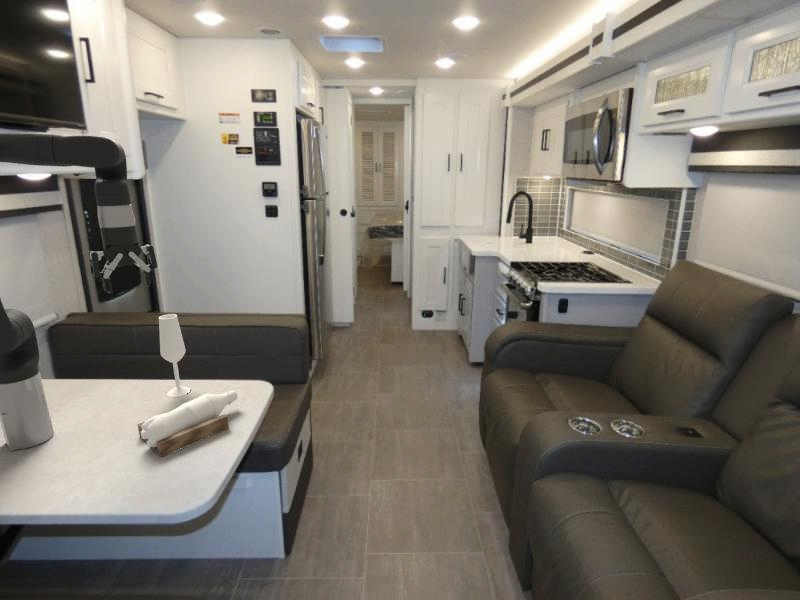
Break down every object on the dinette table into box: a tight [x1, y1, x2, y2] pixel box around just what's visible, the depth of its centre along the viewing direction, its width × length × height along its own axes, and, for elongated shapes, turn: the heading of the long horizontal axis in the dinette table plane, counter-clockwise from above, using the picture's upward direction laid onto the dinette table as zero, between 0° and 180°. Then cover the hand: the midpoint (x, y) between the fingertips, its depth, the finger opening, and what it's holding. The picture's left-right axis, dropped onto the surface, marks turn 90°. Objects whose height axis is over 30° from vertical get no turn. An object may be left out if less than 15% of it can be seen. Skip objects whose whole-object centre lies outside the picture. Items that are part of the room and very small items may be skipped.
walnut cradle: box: [137, 413, 230, 458], centre depth 120 cm, size 17×13×4 cm
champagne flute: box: [158, 313, 191, 398], centre depth 139 cm, size 7×7×24 cm
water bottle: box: [141, 389, 238, 448], centre depth 121 cm, size 7×7×25 cm
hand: (128, 289), depth 117 cm, fingers open, 8 cm apart
